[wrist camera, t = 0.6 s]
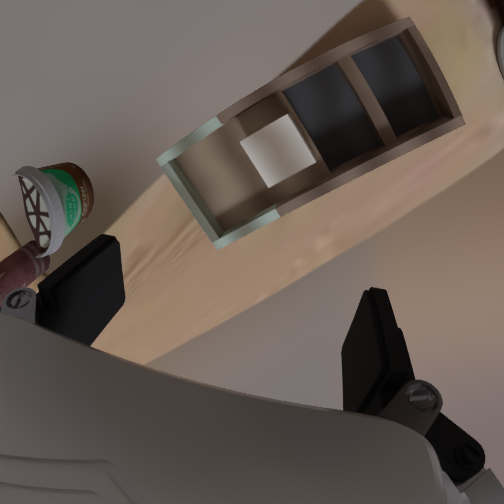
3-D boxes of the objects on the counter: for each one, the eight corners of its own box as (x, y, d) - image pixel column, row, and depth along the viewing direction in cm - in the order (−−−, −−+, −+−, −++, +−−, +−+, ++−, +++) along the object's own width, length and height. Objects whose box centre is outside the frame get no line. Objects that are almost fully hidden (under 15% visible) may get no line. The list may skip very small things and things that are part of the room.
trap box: (397, 26, 24) (409, 16, 20) (448, 121, 28) (465, 124, 24) (172, 152, 35) (155, 159, 31) (227, 234, 39) (217, 250, 35)
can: (53, 251, 46) (-1, 294, 33) (48, 275, 48) (0, 318, 36) (31, 231, 45) (-24, 269, 32) (27, 256, 48) (-22, 295, 35)
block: (289, 113, 29) (287, 113, 25) (315, 155, 30) (316, 162, 27) (247, 137, 31) (239, 142, 27) (273, 178, 32) (268, 188, 29)
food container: (108, 229, 41) (66, 262, 33) (79, 231, 43) (36, 261, 34) (90, 145, 36) (39, 161, 27) (60, 153, 37) (11, 171, 29)
